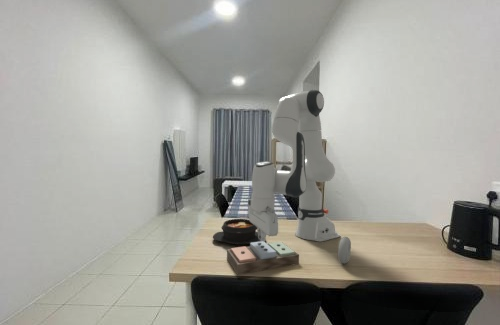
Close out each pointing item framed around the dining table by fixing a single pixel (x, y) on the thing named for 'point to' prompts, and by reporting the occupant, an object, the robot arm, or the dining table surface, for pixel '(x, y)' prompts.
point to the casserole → (237, 232)
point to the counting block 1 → (242, 254)
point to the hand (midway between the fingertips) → (261, 239)
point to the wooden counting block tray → (261, 262)
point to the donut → (344, 250)
